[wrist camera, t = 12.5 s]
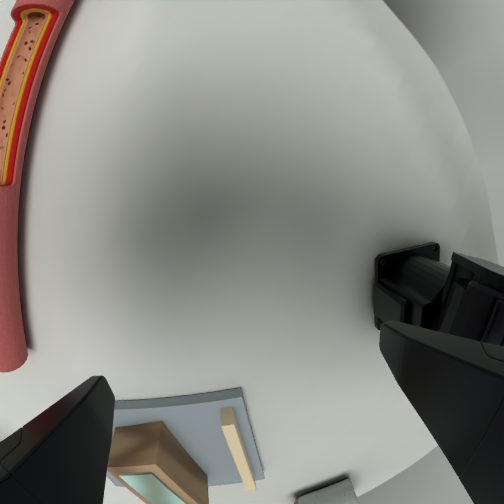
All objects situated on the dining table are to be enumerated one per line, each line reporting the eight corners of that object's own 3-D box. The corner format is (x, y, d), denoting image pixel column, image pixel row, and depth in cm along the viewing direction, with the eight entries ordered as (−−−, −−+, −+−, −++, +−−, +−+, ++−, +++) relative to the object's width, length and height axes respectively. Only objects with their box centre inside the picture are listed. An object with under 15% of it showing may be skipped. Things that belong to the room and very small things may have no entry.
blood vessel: (94, -75, 10) (82, -101, 5) (139, -81, 11) (131, -111, 6) (-2, 335, 19) (-28, 361, 15) (36, 349, 20) (12, 381, 15)
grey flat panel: (240, 387, 23) (244, 413, 20) (263, 470, 26) (267, 492, 23) (59, 400, 21) (48, 421, 18) (117, 479, 25) (113, 498, 22)
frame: (161, 420, 21) (155, 466, 16) (207, 475, 24) (209, 514, 19) (115, 427, 21) (103, 469, 16) (166, 481, 24) (163, 518, 19)
